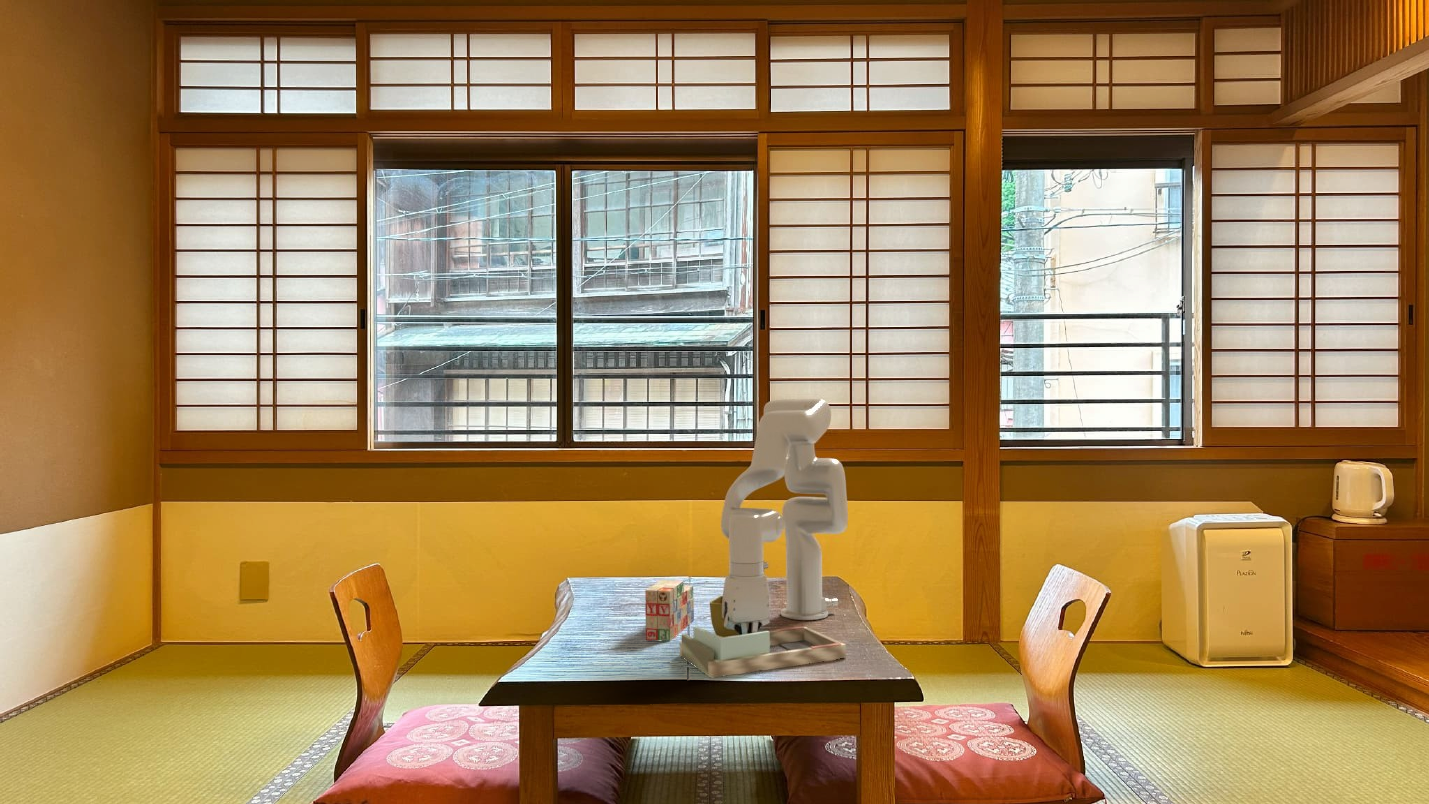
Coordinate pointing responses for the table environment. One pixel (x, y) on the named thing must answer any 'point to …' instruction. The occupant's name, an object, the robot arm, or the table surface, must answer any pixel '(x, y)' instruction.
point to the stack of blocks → (668, 609)
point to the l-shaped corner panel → (734, 643)
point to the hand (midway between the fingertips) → (747, 653)
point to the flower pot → (720, 619)
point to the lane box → (797, 639)
